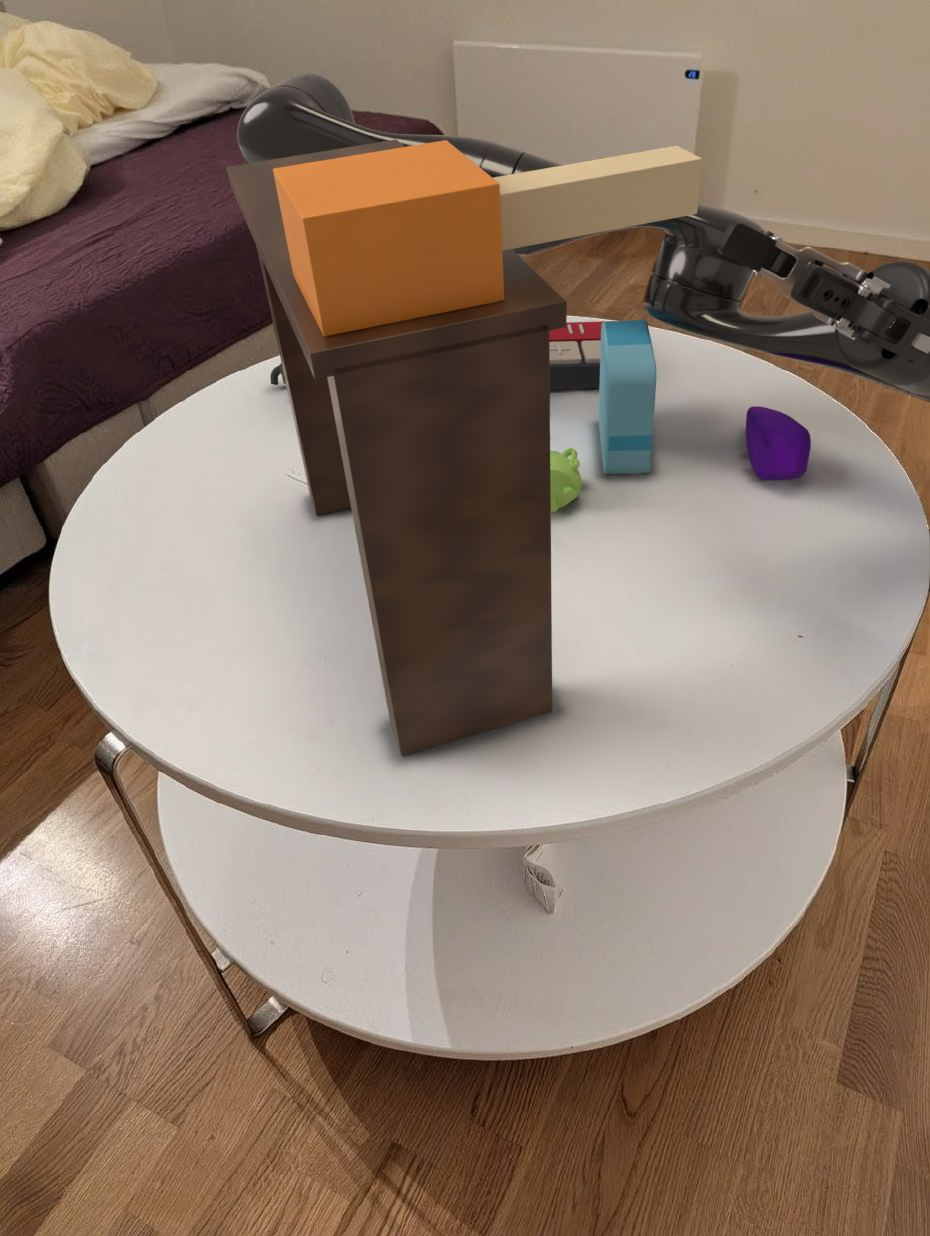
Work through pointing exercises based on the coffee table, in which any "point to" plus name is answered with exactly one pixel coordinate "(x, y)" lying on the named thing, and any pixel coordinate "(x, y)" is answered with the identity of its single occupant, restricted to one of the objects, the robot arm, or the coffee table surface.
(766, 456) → the crystal
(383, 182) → the toy hammer
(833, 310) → the robot arm
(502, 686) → the shelf
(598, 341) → the calculator
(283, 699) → the coffee table surface
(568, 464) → the whimsical teapot
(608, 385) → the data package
